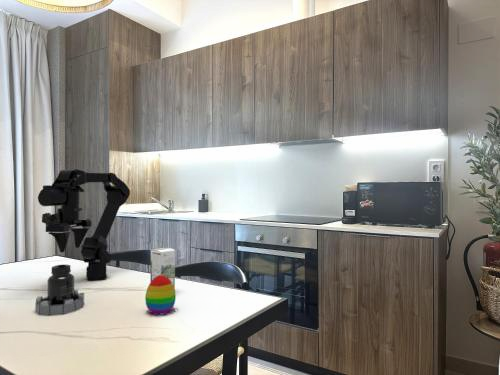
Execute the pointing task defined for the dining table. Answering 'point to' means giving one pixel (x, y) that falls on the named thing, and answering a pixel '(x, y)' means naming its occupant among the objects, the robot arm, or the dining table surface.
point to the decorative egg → (160, 295)
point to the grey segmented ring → (59, 305)
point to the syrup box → (163, 263)
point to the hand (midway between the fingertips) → (70, 249)
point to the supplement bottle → (60, 284)
